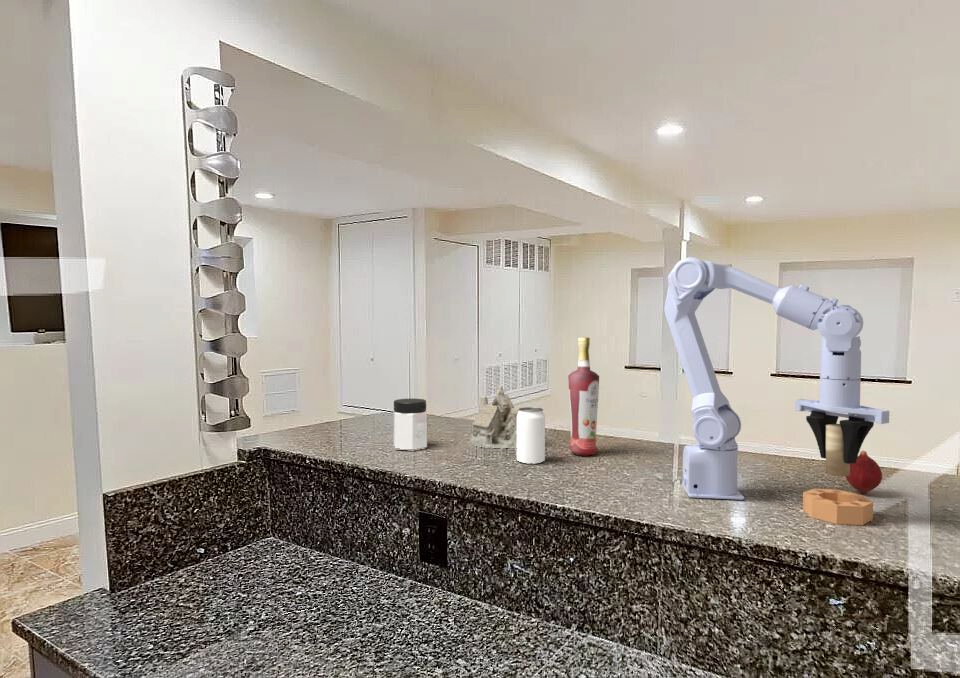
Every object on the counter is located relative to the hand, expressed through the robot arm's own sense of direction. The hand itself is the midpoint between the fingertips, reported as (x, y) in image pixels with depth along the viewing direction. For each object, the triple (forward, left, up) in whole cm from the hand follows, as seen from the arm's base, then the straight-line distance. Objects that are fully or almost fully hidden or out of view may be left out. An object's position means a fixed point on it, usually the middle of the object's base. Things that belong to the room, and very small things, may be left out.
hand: (838, 460), depth 97 cm
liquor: (-41, +38, -9) cm, 56 cm away
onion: (+10, +14, -10) cm, 19 cm away
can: (-53, +29, -10) cm, 61 cm away
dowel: (0, 0, -2) cm, 2 cm away
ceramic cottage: (-61, +45, -10) cm, 77 cm away
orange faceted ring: (0, 0, -9) cm, 9 cm away
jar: (-84, +38, -10) cm, 92 cm away
